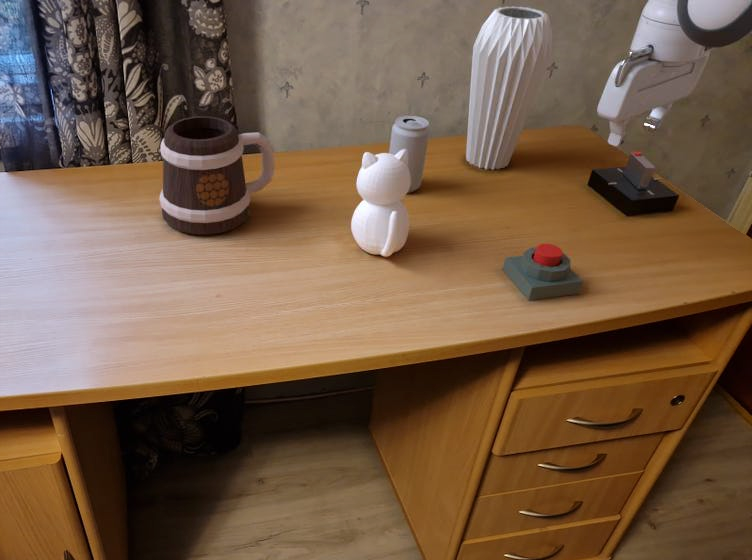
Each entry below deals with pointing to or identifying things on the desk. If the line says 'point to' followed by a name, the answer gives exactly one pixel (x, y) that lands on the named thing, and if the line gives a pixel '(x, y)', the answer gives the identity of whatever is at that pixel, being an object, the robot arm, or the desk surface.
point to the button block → (541, 276)
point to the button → (548, 255)
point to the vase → (505, 81)
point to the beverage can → (411, 145)
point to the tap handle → (639, 170)
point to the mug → (208, 175)
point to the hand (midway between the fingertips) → (633, 136)
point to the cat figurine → (382, 203)
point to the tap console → (632, 192)
